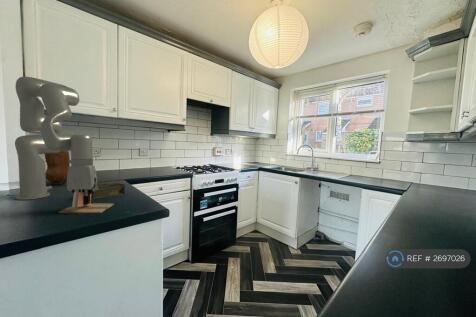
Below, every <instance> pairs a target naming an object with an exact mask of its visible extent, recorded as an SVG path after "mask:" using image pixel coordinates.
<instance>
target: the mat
mask: <svg viewBox="0 0 476 317" xmlns="http://www.w3.org/2000/svg"><path fill="white" fill-rule="evenodd" d="M114 205H115V203H114V202H110V203H109V202H107V203H106V202H103V203H102V202H97V203H96V202H94V203H92V202H90V206H81V207H72V205H71V206H69V207H66V208H63V209H61V210H60V211H58V214H101V213H103V212H105V211H106V210H108V209H109V208H111V207H112V206H114Z"/></svg>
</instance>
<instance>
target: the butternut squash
mask: <svg viewBox="0 0 476 317" xmlns="http://www.w3.org/2000/svg"><path fill="white" fill-rule="evenodd" d="M69 152H70V151H59V152H58V153H54V154H44V160H45V164H46V169H45V174H46V180H47V181H48V182H50V183H51V184H53V185H65V184H67V173H68V169H69V166H71V163H68V161H69V160H71V156H70V153H69Z"/></svg>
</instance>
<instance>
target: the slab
mask: <svg viewBox="0 0 476 317" xmlns="http://www.w3.org/2000/svg"><path fill="white" fill-rule="evenodd" d="M91 194H92V193H91ZM84 196H85V192H74V193H73V198H72V205H71V206H72V207H81V206H90V203H92V200H91V195H90V203H89V204H87V205H84Z"/></svg>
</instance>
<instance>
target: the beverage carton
mask: <svg viewBox="0 0 476 317" xmlns="http://www.w3.org/2000/svg"><path fill="white" fill-rule="evenodd" d="M97 186H98V188H99V189H98V190H96V191H94V192H92V194H91V201H93V200H97V199H105V198H110V197H118V196H123V195H122V194H124V195H126V193H125V192H126V185H125V184H123V183H121V182H115V183H114V182H113V183H105V184H97ZM91 189H93V188H91ZM82 192H85V189H82ZM117 195H118V196H117Z"/></svg>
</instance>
